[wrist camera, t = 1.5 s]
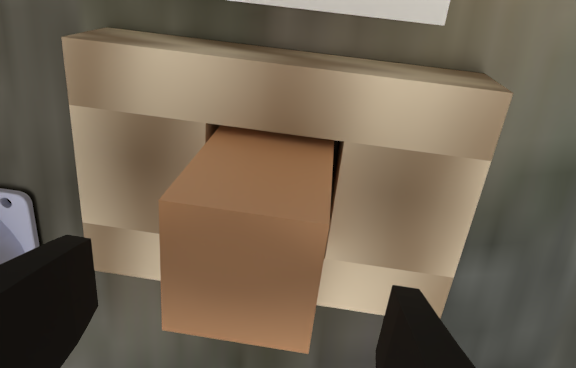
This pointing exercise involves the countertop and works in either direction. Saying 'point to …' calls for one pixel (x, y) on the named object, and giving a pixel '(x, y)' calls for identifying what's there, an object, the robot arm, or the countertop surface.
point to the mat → (373, 8)
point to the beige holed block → (296, 121)
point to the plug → (247, 238)
